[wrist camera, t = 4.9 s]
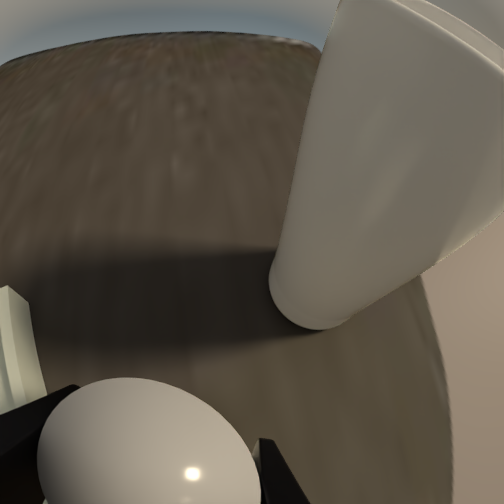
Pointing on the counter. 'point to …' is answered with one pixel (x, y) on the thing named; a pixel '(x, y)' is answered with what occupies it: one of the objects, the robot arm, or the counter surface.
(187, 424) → the shaker
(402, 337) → the counter surface
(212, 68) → the counter surface
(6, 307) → the tray
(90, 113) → the counter surface
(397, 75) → the drinking glass
